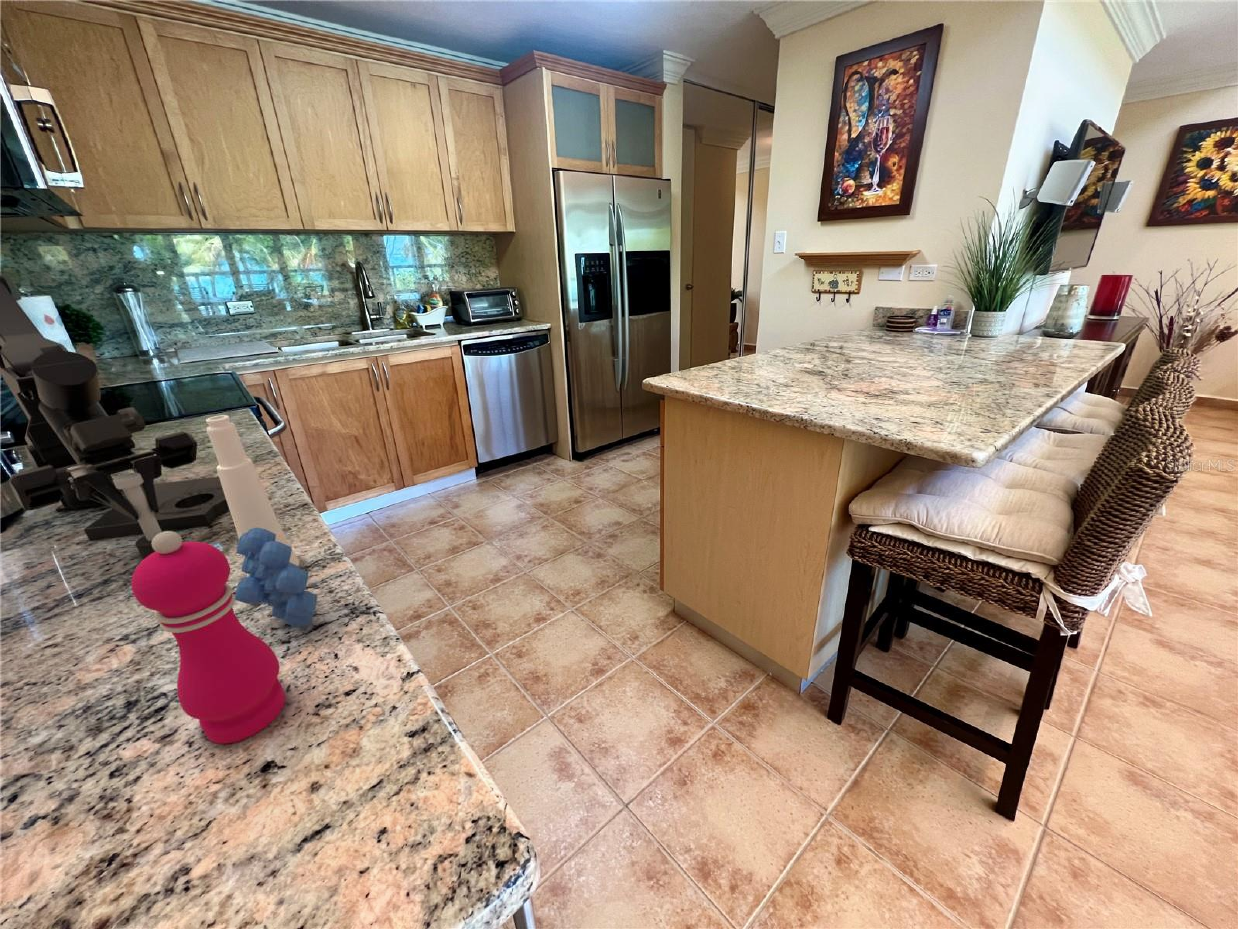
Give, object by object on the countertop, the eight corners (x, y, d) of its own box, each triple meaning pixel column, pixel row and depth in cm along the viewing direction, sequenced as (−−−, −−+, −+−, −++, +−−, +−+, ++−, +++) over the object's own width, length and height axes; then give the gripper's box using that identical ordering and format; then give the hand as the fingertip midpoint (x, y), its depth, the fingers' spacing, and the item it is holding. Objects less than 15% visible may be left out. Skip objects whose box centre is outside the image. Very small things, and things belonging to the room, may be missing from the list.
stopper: (135, 562, 70) (95, 485, 65) (153, 546, 74) (117, 472, 69) (171, 557, 71) (135, 481, 66) (187, 541, 75) (154, 468, 70)
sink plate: (89, 540, 76) (83, 529, 75) (151, 494, 90) (146, 484, 89) (215, 524, 79) (211, 513, 79) (255, 482, 94) (252, 472, 93)
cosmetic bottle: (236, 579, 66) (172, 423, 57) (279, 554, 71) (225, 408, 62) (269, 588, 64) (207, 428, 55) (310, 562, 69) (259, 412, 60)
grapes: (228, 623, 58) (189, 536, 53) (288, 591, 63) (258, 509, 58) (278, 662, 52) (240, 568, 47) (340, 623, 58) (311, 535, 53)
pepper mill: (231, 686, 50) (149, 512, 41) (306, 680, 50) (239, 507, 42) (179, 753, 43) (69, 563, 35) (265, 746, 43) (177, 556, 35)
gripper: (-31, 414, 58) (42, 520, 57) (166, 378, 72) (227, 462, 71) (-10, 462, 65) (56, 557, 64) (166, 421, 79) (222, 498, 78)
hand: (147, 515), depth 69 cm, fingers closed on stopper, 2 cm apart
